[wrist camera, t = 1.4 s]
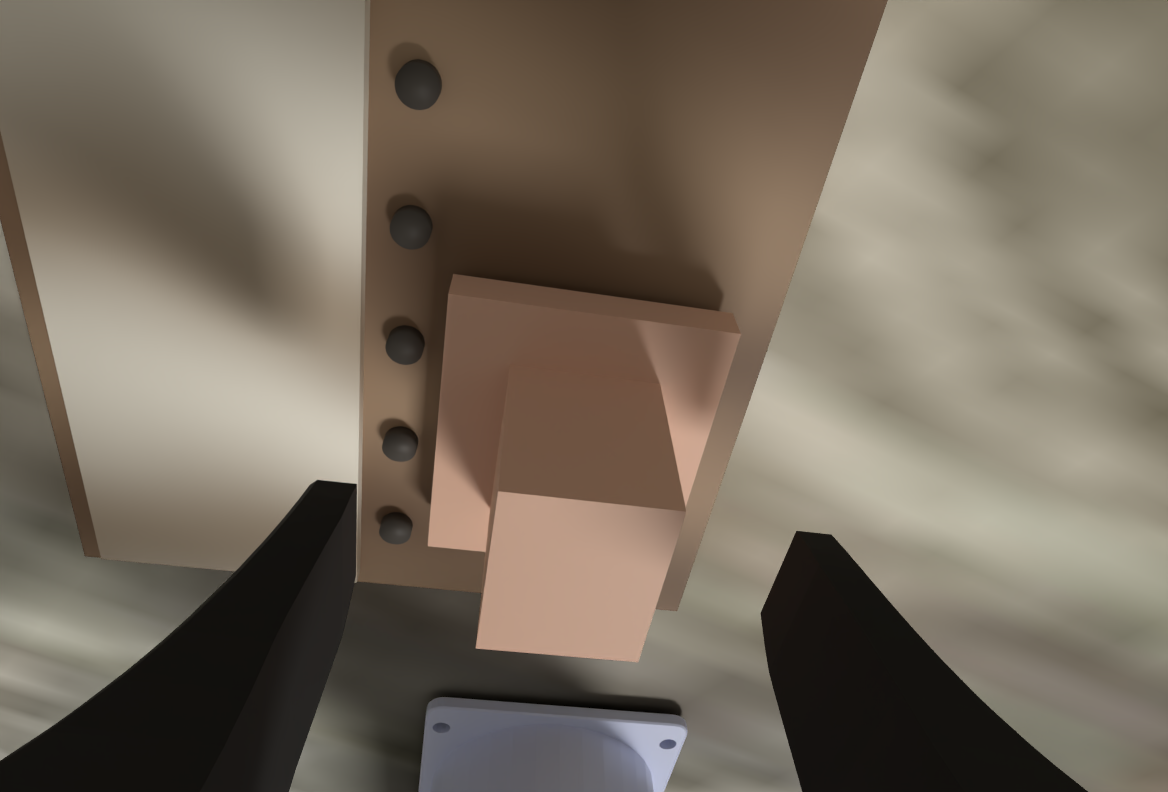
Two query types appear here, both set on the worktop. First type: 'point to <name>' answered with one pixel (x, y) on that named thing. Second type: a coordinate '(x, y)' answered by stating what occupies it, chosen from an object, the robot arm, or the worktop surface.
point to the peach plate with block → (571, 456)
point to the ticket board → (379, 230)
